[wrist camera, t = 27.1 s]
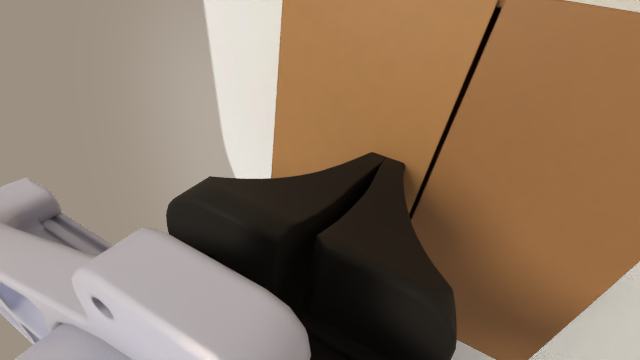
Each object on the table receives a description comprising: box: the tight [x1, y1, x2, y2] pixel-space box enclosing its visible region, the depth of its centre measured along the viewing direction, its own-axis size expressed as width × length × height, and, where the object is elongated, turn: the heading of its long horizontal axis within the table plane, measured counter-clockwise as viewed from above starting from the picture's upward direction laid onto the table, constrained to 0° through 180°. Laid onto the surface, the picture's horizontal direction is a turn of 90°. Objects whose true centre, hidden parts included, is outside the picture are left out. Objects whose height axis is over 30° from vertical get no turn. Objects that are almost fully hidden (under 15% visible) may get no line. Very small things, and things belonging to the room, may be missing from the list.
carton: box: [409, 0, 640, 360], centre depth 14 cm, size 13×13×7 cm
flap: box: [271, 0, 498, 213], centre depth 12 cm, size 6×13×1 cm, turn 171°
